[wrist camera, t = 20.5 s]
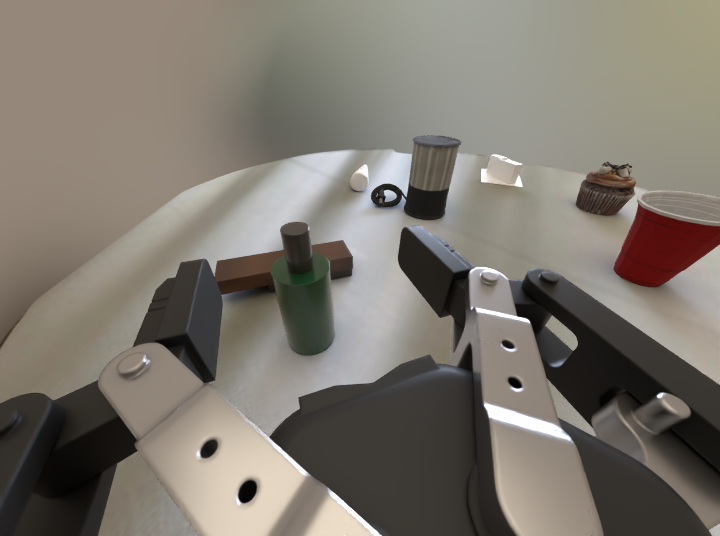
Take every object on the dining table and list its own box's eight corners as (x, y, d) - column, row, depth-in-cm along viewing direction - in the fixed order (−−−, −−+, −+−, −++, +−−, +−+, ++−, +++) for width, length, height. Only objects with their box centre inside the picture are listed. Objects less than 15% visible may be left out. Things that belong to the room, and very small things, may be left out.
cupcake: (573, 211, 59) (598, 166, 53) (569, 197, 66) (591, 156, 60) (626, 220, 55) (659, 173, 49) (615, 205, 62) (643, 162, 56)
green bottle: (290, 361, 27) (262, 250, 18) (285, 324, 31) (259, 218, 23) (340, 347, 28) (334, 238, 20) (328, 313, 32) (319, 210, 24)
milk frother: (452, 219, 55) (471, 143, 46) (381, 223, 53) (386, 145, 44) (427, 195, 66) (438, 130, 57) (367, 198, 64) (370, 131, 55)
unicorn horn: (376, 167, 85) (377, 152, 83) (367, 193, 67) (368, 174, 64) (362, 166, 86) (363, 151, 83) (349, 191, 67) (349, 173, 64)
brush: (222, 304, 33) (213, 282, 31) (225, 282, 37) (216, 260, 35) (352, 277, 38) (352, 256, 36) (343, 259, 42) (343, 239, 40)
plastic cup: (579, 252, 45) (622, 184, 38) (648, 259, 43) (707, 190, 36) (618, 294, 36) (683, 216, 29) (706, 304, 35) (798, 225, 28)
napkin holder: (523, 187, 72) (532, 166, 68) (480, 182, 75) (487, 161, 72) (517, 172, 83) (525, 153, 80) (480, 168, 86) (486, 150, 83)
